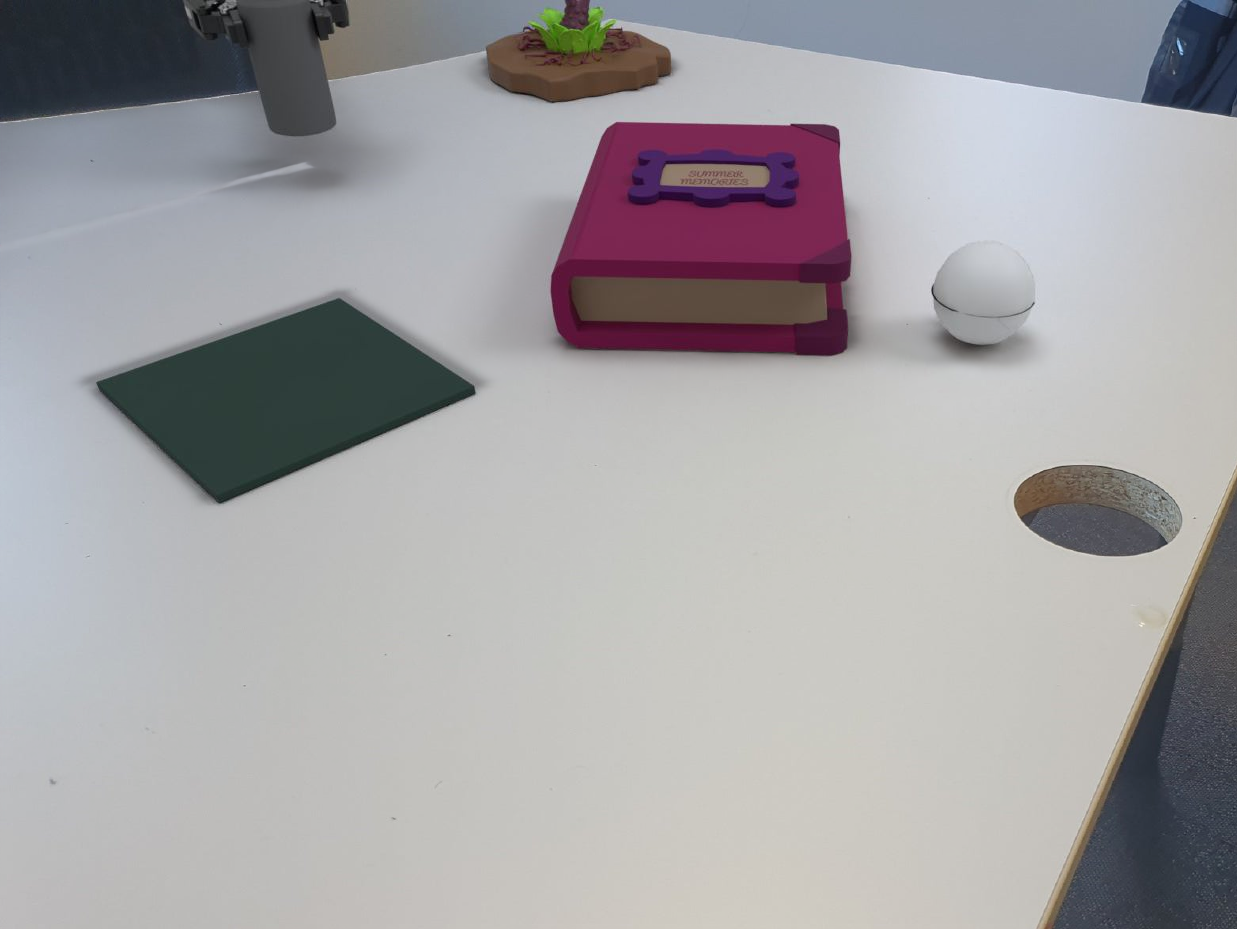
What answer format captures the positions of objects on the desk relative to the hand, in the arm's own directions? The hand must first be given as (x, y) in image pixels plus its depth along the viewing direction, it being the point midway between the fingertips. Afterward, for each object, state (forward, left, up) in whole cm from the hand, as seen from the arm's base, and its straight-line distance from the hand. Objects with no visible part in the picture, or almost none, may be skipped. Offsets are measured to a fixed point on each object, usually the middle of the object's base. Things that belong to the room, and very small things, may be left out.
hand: (281, 31), depth 94 cm
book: (+15, -36, -14) cm, 42 cm away
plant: (+39, +12, -14) cm, 43 cm away
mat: (-19, -31, -13) cm, 38 cm away
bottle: (+1, +2, -9) cm, 9 cm away
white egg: (+20, -60, -14) cm, 64 cm away
